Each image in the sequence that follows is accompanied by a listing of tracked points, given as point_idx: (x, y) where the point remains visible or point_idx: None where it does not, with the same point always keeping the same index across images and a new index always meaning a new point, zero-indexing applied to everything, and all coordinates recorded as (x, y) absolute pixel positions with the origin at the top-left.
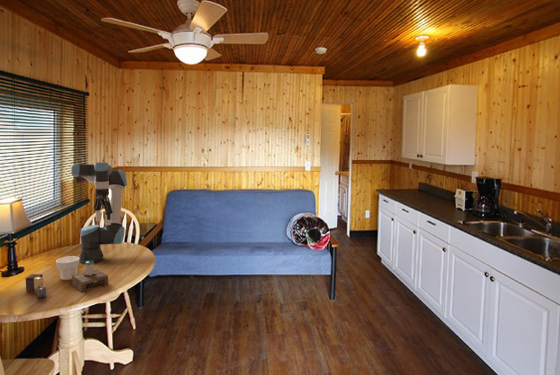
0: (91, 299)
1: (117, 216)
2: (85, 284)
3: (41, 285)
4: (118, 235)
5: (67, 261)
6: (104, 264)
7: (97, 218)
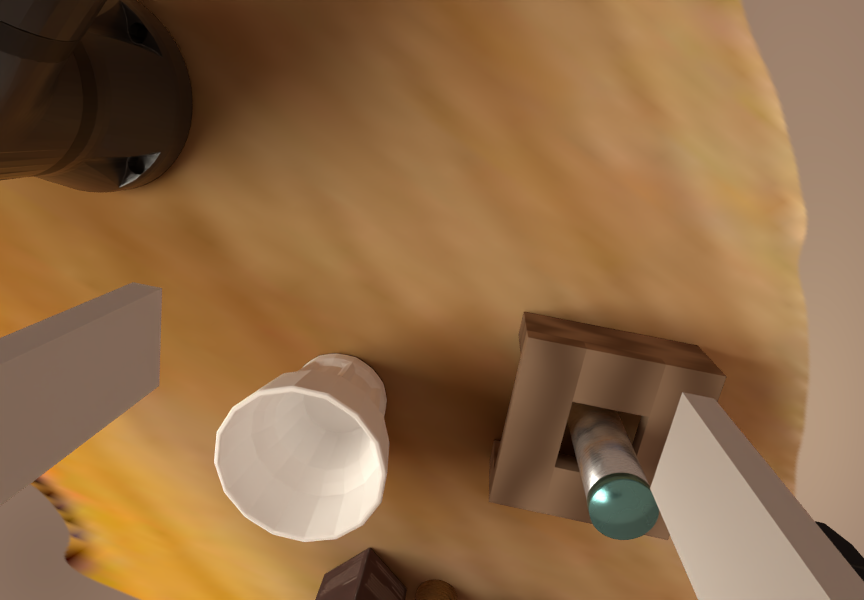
0: None
1: None
2: None
3: None
4: None
5: (246, 414)
6: (281, 91)
7: (117, 393)
